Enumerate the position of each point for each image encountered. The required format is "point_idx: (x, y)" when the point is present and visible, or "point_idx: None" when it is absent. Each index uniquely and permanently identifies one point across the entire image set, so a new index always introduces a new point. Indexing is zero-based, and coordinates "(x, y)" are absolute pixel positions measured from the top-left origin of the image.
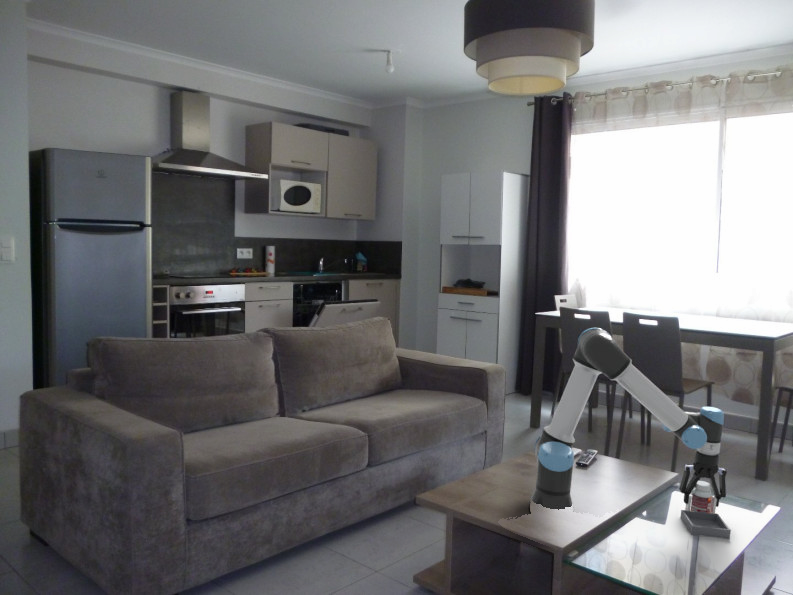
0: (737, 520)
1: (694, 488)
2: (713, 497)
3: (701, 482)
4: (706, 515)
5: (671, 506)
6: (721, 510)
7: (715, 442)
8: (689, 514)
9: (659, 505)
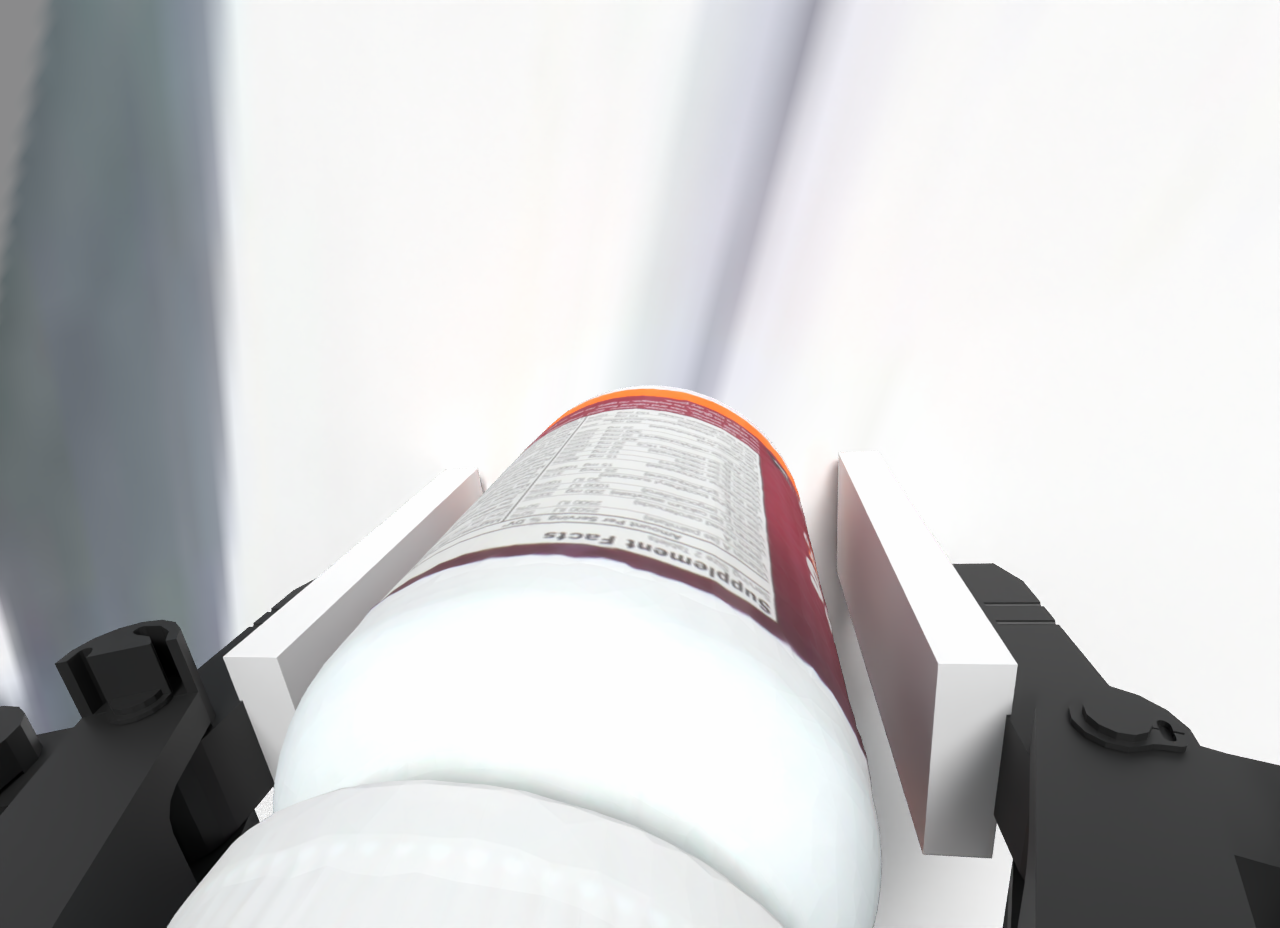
0: (1261, 582)
1: (289, 762)
2: (927, 790)
3: None
4: None
5: (261, 355)
6: (1170, 216)
7: None
8: None
9: (103, 378)
